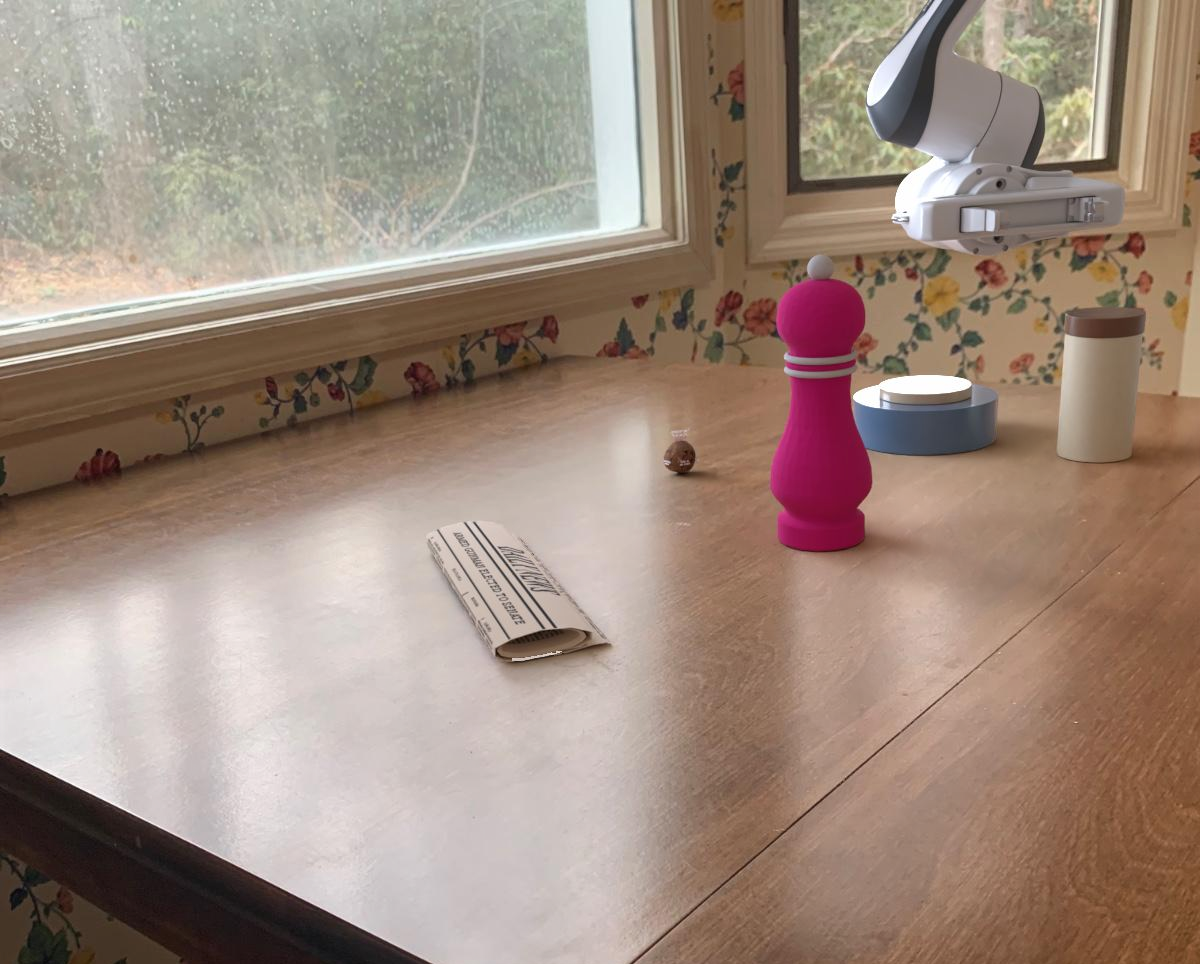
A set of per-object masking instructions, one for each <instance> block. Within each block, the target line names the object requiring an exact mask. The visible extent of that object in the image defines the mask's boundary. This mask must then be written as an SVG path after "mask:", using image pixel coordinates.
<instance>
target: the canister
mask: <svg viewBox="0 0 1200 964" xmlns="http://www.w3.org/2000/svg"><path fill="white" fill-rule="evenodd" d="M1146 319H1147V311H1145V310H1143V309H1141V308H1134V307H1122V306H1097V307H1096V306H1095V307H1094V306H1093V307H1081V308H1075V309H1071V310H1068V311H1066V312H1065V315H1064V325H1063V332H1064V342H1063V343H1064V346H1063V356H1062V357H1063V358H1062V371H1061V385H1060V386H1061V387H1060V397H1059V398H1060V399H1059V414H1058V426H1057V427H1058V429H1057V440H1056V441H1057V442H1056V455H1057V456H1058V457H1060V458H1063V459H1065V460H1069V461H1073V462H1081V463H1092V464H1094V463H1095V464H1097V463H1099V464H1102V463H1105V464H1106V463H1116V462H1121V461H1125V460H1128V459H1129V458H1131V456H1132V454H1133V453H1132V452H1133V443H1134V432H1135V422H1136V410H1137V400H1138V389H1139V379H1140V369H1141V358H1142V349H1143V348H1142V347H1143V338H1144V337H1143V336H1144V333H1145V328H1146Z"/></svg>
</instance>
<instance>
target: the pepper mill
mask: <svg viewBox="0 0 1200 964" xmlns="http://www.w3.org/2000/svg"><path fill="white" fill-rule="evenodd" d="M806 269H807V270H806V271H807V275H808V276H809V279H806V280H803V281H800V282H798V283H796V284H795V285H793V286H792V287H790V288H789V289H788V290H787V291H786V292H785V293H784V294H783V295H782V297H781V300H780V301H779V303H778V306H777V310H776V317H775V318H776V319H775V321H776V322H775V324H776V331H777V333H778V335H779V337H780V339H781V340H782V341H783V342H784V343H785V344H786V345H787V347H788V351H786V352H785V353H784V354H783V359H784V360H785V366H784V368H783V371H784V373H785V375H787V376H789V380H790V389H791V390H790V402H789V403H790V404H789V411H788V415H787V416H788V417H787V419H786V420H787V421H786V424H785V427H784V430H783V432H782V436H781V438H780V440H779V443H778V445H777V448H776V450H775V452H774V455H773V459H772V463H771V467H770V479H769V489H770V491H771V495H773V498H775V499H776V501H777V502H779V504H780V505H781V506H782V507H783V508H784V509H782V510H781V511H780V512H779V513H778V515H777V518H776V520H777V523H776V524H777V525H776V526H777V539H778V541H779V542H780V543H781V544H783V545H784V546H786V547H788V548H792V549H796V550H800V551H808V552H809V551H810V552H830V551H832V552H833V551H839V550H844V549H845V550H846V549H849V548H851V547H854V546H857V545H859V544H860V543H862V542H863V540H864V539H865V535H866V516H865V515H866V514H865V513H864V512H863V510H861V509H859V506H860V505H861V504H862V503H863V502H864V500H866V498H867V497H868V496H869V494H870V492H871V491H872V488H873V470H872V469H873V468H872V464H871V461H870V456H869V452H868V451H867V448H865V445H864V443H863V441H862V438H861V436H860V434H859V431H858V428H857V426H856V423H855V420H854V416H853V404H852V395H851V389H852V388H851V387H852V386H851V385H852V376H853V375H852V374H854V373H856V372H857V370H858V367H859V366H858V365H857V358H858V356H859V353H858V351H857V350H856V349H855V348H853V346H854V344H855V343H856V342H857V340H858V339H859V337H860V336H861V335H862V334H863V332H864V329H865V327H866V308H865V303H864V301H863V297H862V295H861V294H860V293H859V291H858V290H857V289H856V288H855V287H854V286H853V285H851V284H850V283H848V282H846V281H844V280H841V279H837V278H832V276H833V274H834V270H835V265H834V261H833V260H832V259H831V258H830V257H829V256H828V255H825V254H816V255H815V256H813V257H812V258H810V260H809V262H808V263H807V267H806Z"/></svg>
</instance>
